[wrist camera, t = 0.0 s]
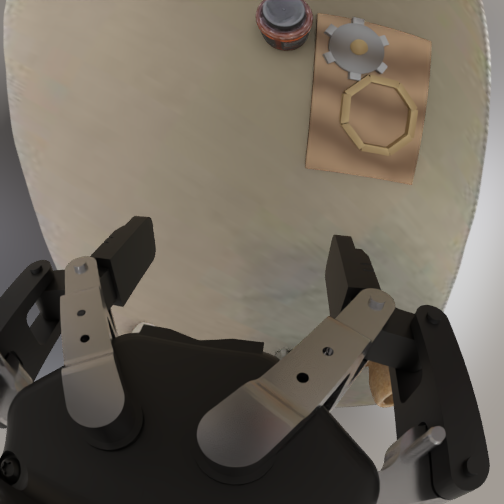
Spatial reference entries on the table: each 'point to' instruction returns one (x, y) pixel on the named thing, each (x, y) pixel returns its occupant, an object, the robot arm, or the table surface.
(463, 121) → the table surface
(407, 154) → the board
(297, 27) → the supplement bottle
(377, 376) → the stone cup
